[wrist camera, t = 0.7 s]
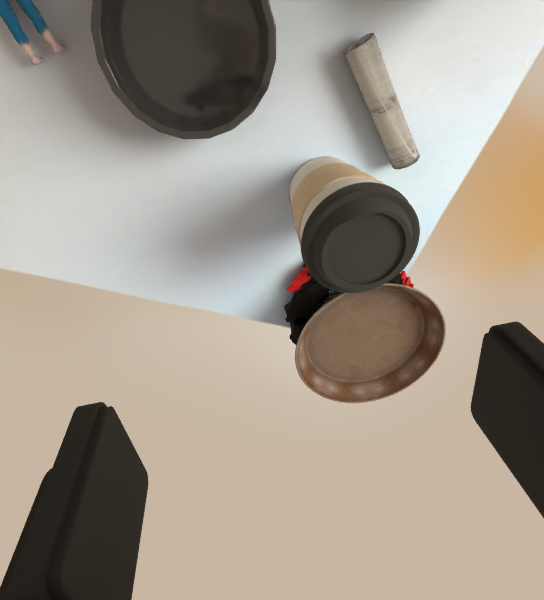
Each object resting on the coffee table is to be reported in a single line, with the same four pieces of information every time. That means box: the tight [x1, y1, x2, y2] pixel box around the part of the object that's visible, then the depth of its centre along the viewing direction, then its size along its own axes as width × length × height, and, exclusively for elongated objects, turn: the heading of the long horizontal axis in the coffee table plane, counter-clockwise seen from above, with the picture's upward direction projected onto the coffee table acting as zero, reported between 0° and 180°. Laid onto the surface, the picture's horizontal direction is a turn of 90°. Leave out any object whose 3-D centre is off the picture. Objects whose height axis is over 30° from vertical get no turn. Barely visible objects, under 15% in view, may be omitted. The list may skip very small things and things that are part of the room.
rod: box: [344, 33, 420, 169], centre depth 37 cm, size 12×3×3 cm, turn 31°
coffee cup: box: [289, 157, 420, 293], centre depth 35 cm, size 9×9×15 cm
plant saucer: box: [295, 283, 446, 403], centre depth 48 cm, size 18×18×3 cm
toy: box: [284, 264, 413, 345], centre depth 49 cm, size 17×16×3 cm
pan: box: [91, 0, 276, 139], centre depth 31 cm, size 13×13×4 cm
